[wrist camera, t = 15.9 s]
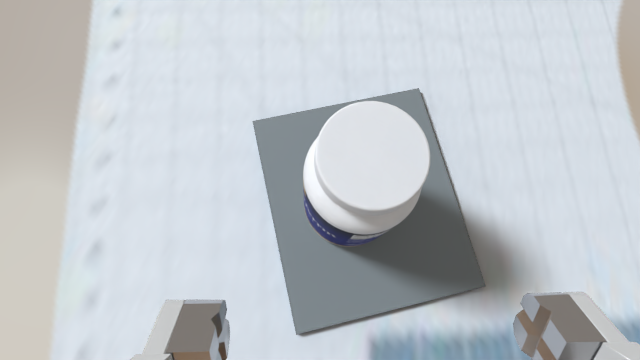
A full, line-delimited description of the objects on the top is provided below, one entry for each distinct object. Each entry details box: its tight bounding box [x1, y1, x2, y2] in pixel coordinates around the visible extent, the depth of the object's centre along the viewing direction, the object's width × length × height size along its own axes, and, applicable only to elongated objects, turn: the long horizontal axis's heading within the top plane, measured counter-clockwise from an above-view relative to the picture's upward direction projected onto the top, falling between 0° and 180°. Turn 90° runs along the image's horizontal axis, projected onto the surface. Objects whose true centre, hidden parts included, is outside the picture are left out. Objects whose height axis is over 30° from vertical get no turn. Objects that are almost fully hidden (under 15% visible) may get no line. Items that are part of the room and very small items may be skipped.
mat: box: [253, 88, 485, 335], centre depth 25 cm, size 14×12×1 cm
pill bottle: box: [303, 101, 430, 247], centre depth 20 cm, size 6×6×10 cm
